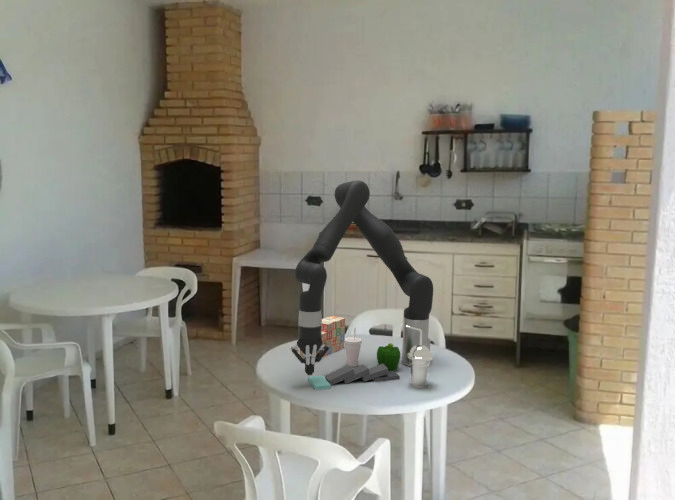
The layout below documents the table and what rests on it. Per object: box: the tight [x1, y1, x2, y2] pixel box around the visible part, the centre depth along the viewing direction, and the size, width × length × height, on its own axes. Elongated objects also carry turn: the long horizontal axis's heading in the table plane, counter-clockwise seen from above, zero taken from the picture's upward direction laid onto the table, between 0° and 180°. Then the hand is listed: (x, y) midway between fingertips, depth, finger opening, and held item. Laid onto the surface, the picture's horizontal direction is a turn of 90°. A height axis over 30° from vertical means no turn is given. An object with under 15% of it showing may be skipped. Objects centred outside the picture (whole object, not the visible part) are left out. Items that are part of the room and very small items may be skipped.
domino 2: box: [324, 364, 355, 386], centre depth 214 cm, size 2×5×9 cm
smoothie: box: [344, 327, 363, 368], centre depth 230 cm, size 6×6×14 cm
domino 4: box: [360, 364, 389, 383], centre depth 217 cm, size 2×5×9 cm
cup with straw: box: [406, 325, 434, 389], centre depth 211 cm, size 8×9×20 cm
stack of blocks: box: [299, 315, 346, 358], centre depth 244 cm, size 21×6×12 cm, turn 146°
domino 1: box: [307, 375, 332, 391], centre depth 212 cm, size 2×5×9 cm
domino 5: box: [371, 370, 400, 383], centre depth 219 cm, size 2×5×9 cm
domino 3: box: [341, 363, 370, 385], centre depth 216 cm, size 2×5×9 cm
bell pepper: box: [376, 342, 401, 372], centre depth 227 cm, size 8×8×10 cm
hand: (309, 374), depth 211 cm, fingers closed
